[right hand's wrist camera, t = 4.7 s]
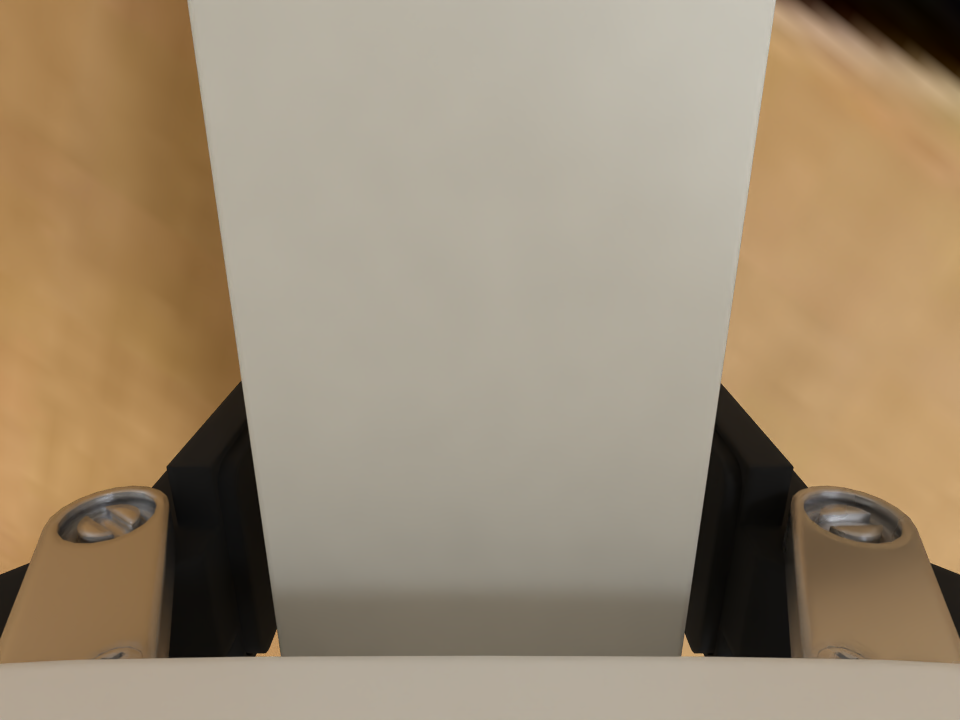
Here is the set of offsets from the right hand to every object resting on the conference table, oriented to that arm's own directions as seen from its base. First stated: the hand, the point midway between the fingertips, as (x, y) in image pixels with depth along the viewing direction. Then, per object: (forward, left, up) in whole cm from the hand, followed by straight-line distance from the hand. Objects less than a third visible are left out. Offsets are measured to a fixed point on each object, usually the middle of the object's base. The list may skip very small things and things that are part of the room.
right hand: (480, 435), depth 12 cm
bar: (+34, 0, -3) cm, 34 cm away
